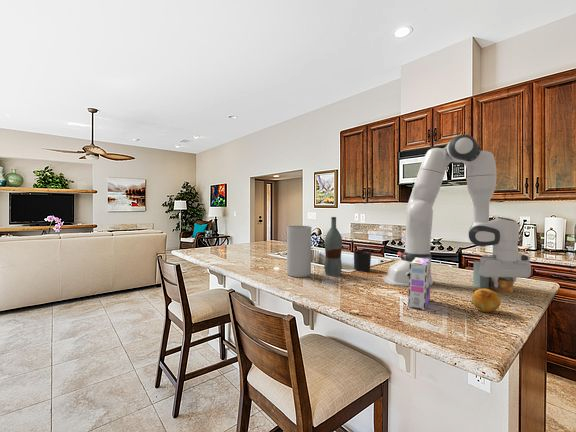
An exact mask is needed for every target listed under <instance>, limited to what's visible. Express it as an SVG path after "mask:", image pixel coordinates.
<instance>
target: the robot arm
mask: <svg viewBox="0 0 576 432" xmlns="http://www.w3.org/2000/svg"><path fill="white" fill-rule="evenodd" d="M461 163H462V164H463V165H464V166H465V168H466V185H467V191H468V194H469V196H470V199H471V201H472V209H473V210H472V215H473V217H472V218H473V219H472V224H471V226H470V228H469V230H468V240H469V241H470V242H471V244H473V245H475V246H477V247H488V246H492V254H490V255H489V254H486V255H483V256H481V257H480V260H479V261H480V266H479V274H480V275H481V276H483V277H492V280H493V282H494V287H497V288H498V287H500V283H498V281H497V280H498V277H510V281H512V282H513V285H514V284H515V282H516V281H517V278H525V279H526V278H527V279H528V278H530V276H531V274H532V264H531V262H530V261H531V256H530V255H527V254H523V253H521V252H519V247H518V242H519V239H520V231H519V230H520V229H519V223H518V222H517V221H516V220H514V219H512V218H507V217H500V216H499V217H498V216H497V217H496V218H494V219H492V220H490V203H491V199H492V197H493V195H494V193H495V190H496V185H497V164H496V159H495V156H494V154H493V153H492V152H491V151H487V150H482V148H481V147H480V145H479V144H478V142H477V140H476V139H475V138H474V137H473V136H471V135H470V134H458V135H457V136H454V137H453V138H451V140H450V141H449V142H448V143H447V144H446V146H445V147H443V148H440V147H433V148H430V149H428V150H427V152H426V153H425V154H424V157H423V159H422V161H421V164H420V166H419V170H418V172H417V176H416V178H415V181H414V185H413V188H412V191H411V193H410V196H409V199H408V201H407V205H406V209H405V215H406V217H405V235H404V236H405V237H404V239H405V240H404V243H405V246H404V252H401V251H398V252H397V254H396V255H397V256H398V257H400V259H399V260H398V261H396V262H395V263H394V264H392V265H390V266H389V267H388V271H387V274H386V275H383V276H382V280H383V282H385V283H387V284H389V285H392V286H399V287H401V286H402V287H409V269H410V263H411V262H412V261H413V260H414V259H415V258H426V259H431V260H432V253H431V242H432V241H431V240H432V229H433V216H434V215H433V214H434V210H433V206H434V204H435V201H436V198H437V196H438V195H439V192H440V189H441V187H442V183H443V182H444V181H443V180H444V178H445V175H446V171H447V168H448V166H449V165H450V164H461ZM433 284H434V281H433V277H432V274H431V275H430V286H432V285H433Z"/></svg>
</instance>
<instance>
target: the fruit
mask: <svg viewBox="0 0 576 432" xmlns="http://www.w3.org/2000/svg"><path fill="white" fill-rule="evenodd" d="M471 301H472V305H473V306H474V307H475V308H476V309H477V310H478V311H480V312H483V313H492V312H494V311H496V310H497V309H499V308H500V306H501V298H500V296H499V294H498V293H497V292H496V291H494V290H493V289H492V290H491V288H479V289H477V290H475V291H474V292H473V294H472V296H471Z"/></svg>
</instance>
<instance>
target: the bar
mask: <svg viewBox="0 0 576 432" xmlns="http://www.w3.org/2000/svg"><path fill="white" fill-rule="evenodd" d="M497 281H498V283H500V287H498V288H497V287H494V282H493V280H492V277H489V288H488V289H492V290H493V291H494V290H495V292H499V293H501V294H512V295H513V293H514V284H513V282H512V281H510V280H507V279H504V278H501V277H498V280H497Z"/></svg>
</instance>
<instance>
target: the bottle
mask: <svg viewBox="0 0 576 432" xmlns="http://www.w3.org/2000/svg"><path fill="white" fill-rule="evenodd" d="M330 220H331V221H330V223H331V224H330V228H329V230H328V231H327V233H326V234H325V238H324V251H325V253H324V254H325V258H324V265H323V266H324V269H323V270H324V274H325V275H326V276H330V277H331V276H332V277H337V276H341V274H342V269H343V266H342V263H343V262H342V249H343V237H342V234H341V233H340V232H339V230H338V228H337V217H336V216H331V218H330Z"/></svg>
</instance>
